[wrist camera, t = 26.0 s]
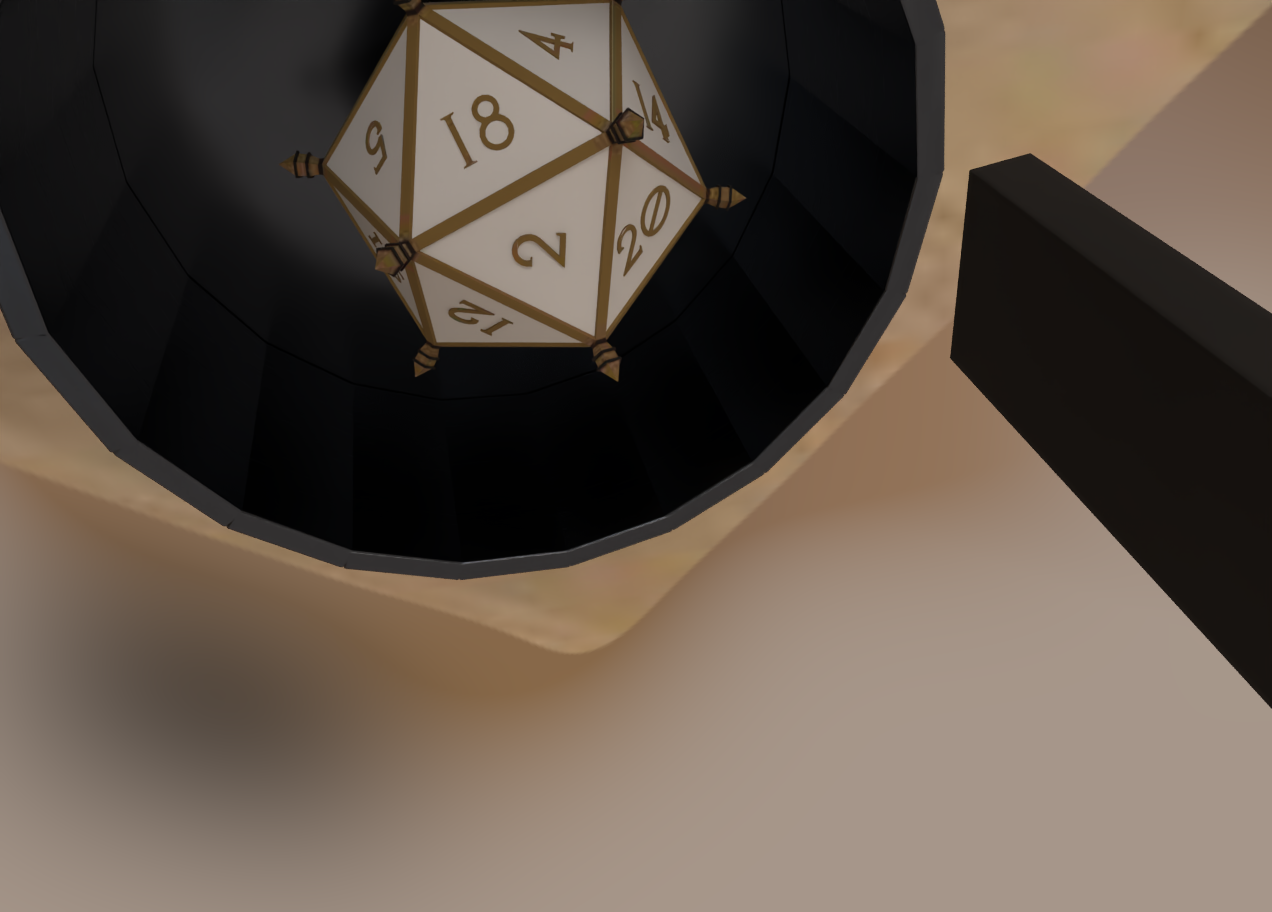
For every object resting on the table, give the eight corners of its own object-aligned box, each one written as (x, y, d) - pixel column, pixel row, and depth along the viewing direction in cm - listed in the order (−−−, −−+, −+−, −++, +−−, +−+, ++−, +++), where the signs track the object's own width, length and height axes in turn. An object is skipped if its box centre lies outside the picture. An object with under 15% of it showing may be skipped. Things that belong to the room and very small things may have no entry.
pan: (-55, 203, 21) (-208, 380, 15) (323, -655, 14) (302, -910, 9) (543, 482, 30) (585, 652, 25) (926, 47, 24) (1100, 144, 18)
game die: (487, -2, 24) (715, -226, 15) (634, 280, 26) (893, 226, 18) (179, 141, 20) (250, -49, 11) (388, 449, 23) (568, 481, 14)
